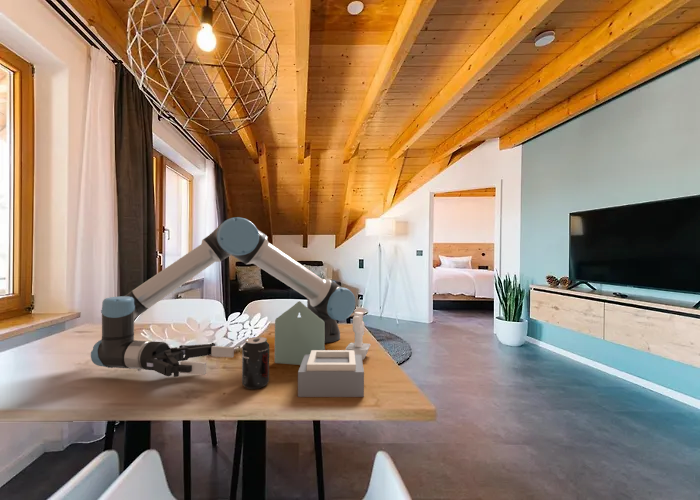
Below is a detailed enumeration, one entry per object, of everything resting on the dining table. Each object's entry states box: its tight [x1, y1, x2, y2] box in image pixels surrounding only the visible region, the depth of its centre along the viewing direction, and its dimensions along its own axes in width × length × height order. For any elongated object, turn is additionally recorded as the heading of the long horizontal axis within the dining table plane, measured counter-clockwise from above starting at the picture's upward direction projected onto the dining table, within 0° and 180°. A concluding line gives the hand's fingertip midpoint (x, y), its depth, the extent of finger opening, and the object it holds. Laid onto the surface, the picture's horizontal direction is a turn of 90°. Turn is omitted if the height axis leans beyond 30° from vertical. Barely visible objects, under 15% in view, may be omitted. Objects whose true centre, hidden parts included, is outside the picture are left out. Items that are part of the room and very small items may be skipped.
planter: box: [274, 301, 326, 366], centre depth 109 cm, size 16×8×20 cm, turn 78°
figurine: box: [345, 311, 371, 360], centre depth 113 cm, size 7×9×15 cm
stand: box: [297, 349, 365, 398], centre depth 89 cm, size 14×16×8 cm
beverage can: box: [241, 336, 270, 390], centre depth 89 cm, size 7×7×12 cm
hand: (220, 359), depth 89 cm, fingers open, 13 cm apart
